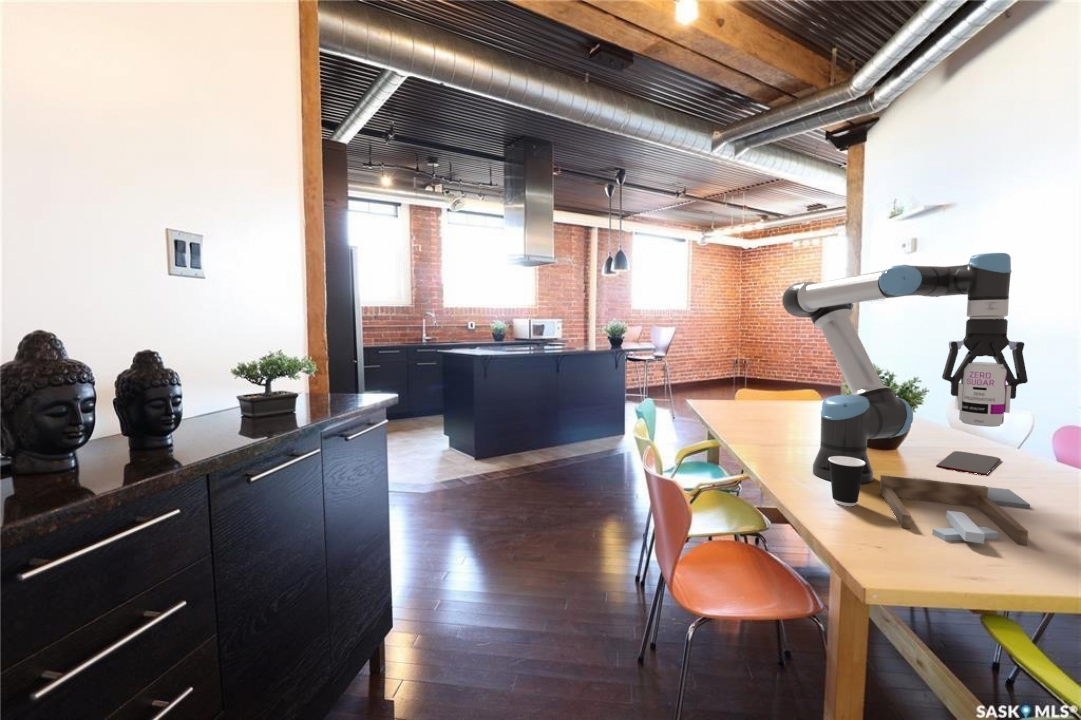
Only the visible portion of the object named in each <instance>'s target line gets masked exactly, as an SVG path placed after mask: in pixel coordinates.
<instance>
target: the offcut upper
mask: <svg viewBox="0 0 1081 720" xmlns="http://www.w3.org/2000/svg"><path fill="white" fill-rule="evenodd" d="M945 515H946V518H945V519H946V521H947V522H948V523H949V524H950V526H951V527H952V528H954V529H955V530H956V531H957V532H958V533H959V535H960V536H961V537H962V538H963V539H964V540H963V541H965V542H970V543H976V544H983V545H984V544H985V539H984V537H985V534H984V533H983V532H982V531H981V530H980V529H979V528H978V527H979V526H977V524H975V522H974V521H972V519H970V517H969V516H967V514H966V513H965V512H961V511H953V510H952V511H951V510H946V514H945Z"/></svg>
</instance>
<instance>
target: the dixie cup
mask: <svg viewBox="0 0 1081 720" xmlns="http://www.w3.org/2000/svg"><path fill="white" fill-rule="evenodd" d="M828 460H829V461H830V473H831V480H830V482H831V483H830V484H831V485H830V487H831V494H832V499H833V503H834V502H835V503H837V504H836V505H838V504H841V505H845V506H844V507H846V506H854V505H856V506H857V503H858V501H859V496H860V489H861V485H862V483H861V480H862V474H863V468H864V465H865V464H866V463H865V462H864V461H862V460H860V459H856V458H851V457H844V456H833V457H829V458H828ZM835 503H834V504H835ZM841 505H840V506H841ZM854 507H855V506H854Z"/></svg>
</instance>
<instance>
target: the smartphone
mask: <svg viewBox="0 0 1081 720" xmlns="http://www.w3.org/2000/svg"><path fill="white" fill-rule="evenodd" d="M1001 460H1002V459H1001V458H1000V457H996V456H992V455H986V454H979V453H972V452H967V451H958V450H955V451H952V452H951V453H949V454H948V455H947V456H946V457H945V458H943V459H942V460H941V461H939V462H938V463H937V464H936V466H935V467H936V468H938V469H943V470H948V471H954V470H955V472H960V471H962V473H965V472H969V473H968V474H971V473H977V474H981V475H980V476H982V475H987V476H989V474H987V473H988V472H989V471H991V470H992V469H993V468H994V467H995V466H996V465H997V464H1000V463H1001ZM997 466H998V465H997ZM997 466H996V467H997ZM996 467H995V468H996ZM995 468H994V469H995ZM994 469H993V470H994ZM993 470H992V471H993ZM992 471H991V472H992ZM977 474H976V475H977Z"/></svg>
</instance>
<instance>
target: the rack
mask: <svg viewBox="0 0 1081 720" xmlns="http://www.w3.org/2000/svg"><path fill="white" fill-rule="evenodd" d="M987 487H988V486H987V485H979V484H967V483H959V482H949V481H940V480H931V479H920V478H911V477H902V476H891V475H882V474H881V475H880V483H879V495H880V494H881V495H883V496H882V498H883V497H884V498H883V499H884V501H885V500H886V501H885V503H886V502H887V503H888V504H887V503H886V504H887V506H888V505H889V506H888V508H889V507H890V508H891V509H890V508H889V509H890V511H891V510H892V511H893V513H894V514H893V513H892V514H893V516H894V515H895V516H896V518H897V519H896V518H895V519H896V521H897V520H898V521H897V522H899V523H898V524H899V526H900V525H901V526H900V527H901V528H902V529H907V528H909V529H910V530H911V514H910V512H909V510H908V509H907V508H906V507H905V505H904V503H903V502H902V501H901V500H900V499H907V498H911V499H910V500H915V499H918V500H917V501H923V500H925V501H926V502H934V503H942V504H950V505H956V506H957V505H958V506H959V505H960V506H967V507H974V508H978V509H979V510H980V511H981V512H983V514H984V515H985V516H987V517H988V519H990V521H992V522H993V523H994V524H995V525H996V526H997V527H999V528H1000V529H1001V531H1003V533H1005V535H1007V536H1008V537H1009V538H1010V539H1012V541H1013V542H1014V543H1016V545H1021V546H1028V540H1029V539H1028V537H1029V530H1028V529H1027V528H1025V527H1024V526H1023V525H1022V524H1021V523H1019V522H1018V521H1017V520H1015V519H1014V518H1013V517H1012V516H1011V515H1010V514H1008V513H1007V511H1004V510H1003V509H1002V508H1001V506H1000V505H996V504H995V503H994V502H993V501H992V500H990V499H989V498H988V497H987V496H988V488H987ZM881 495H880V496H881ZM898 497H902V498H898ZM892 511H891V512H892ZM895 516H894V517H895Z"/></svg>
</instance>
